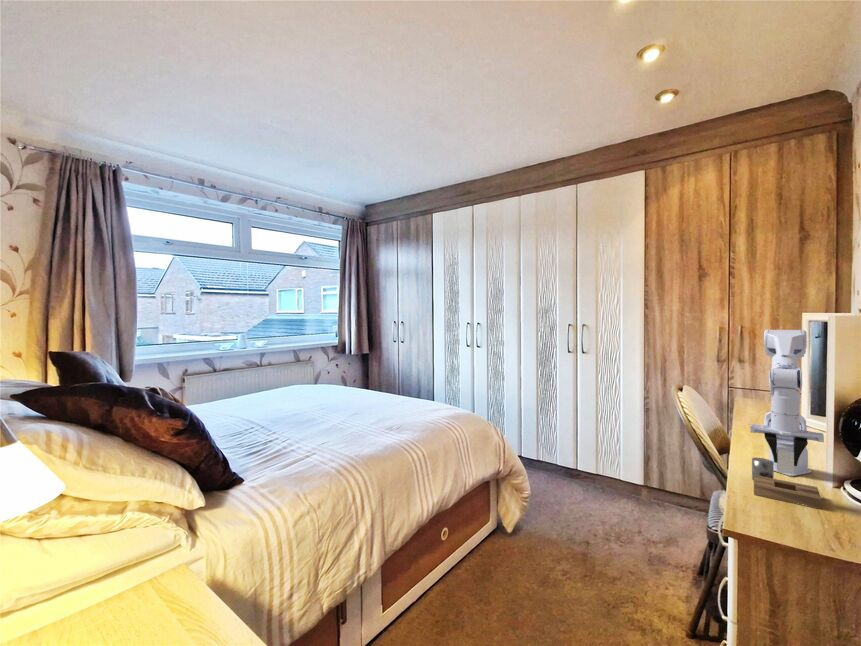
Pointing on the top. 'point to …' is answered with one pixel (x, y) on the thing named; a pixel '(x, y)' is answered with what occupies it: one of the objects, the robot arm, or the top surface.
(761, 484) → the bore block
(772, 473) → the round bit
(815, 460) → the top surface
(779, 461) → the square bit
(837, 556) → the top surface
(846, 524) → the top surface
